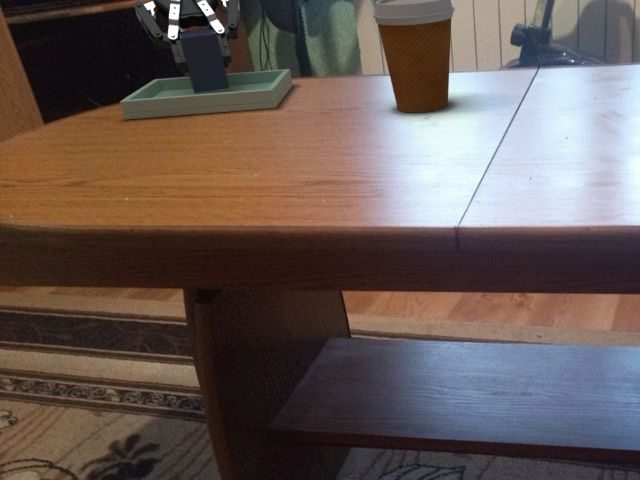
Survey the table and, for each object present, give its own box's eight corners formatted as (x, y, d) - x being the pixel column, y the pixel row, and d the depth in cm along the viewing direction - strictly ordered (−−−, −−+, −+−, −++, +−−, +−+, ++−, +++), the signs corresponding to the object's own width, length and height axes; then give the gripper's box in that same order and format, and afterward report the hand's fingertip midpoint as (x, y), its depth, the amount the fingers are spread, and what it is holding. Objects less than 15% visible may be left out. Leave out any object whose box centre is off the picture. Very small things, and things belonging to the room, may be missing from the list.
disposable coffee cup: (456, 114, 86) (448, 2, 79) (377, 117, 87) (362, 7, 81) (465, 95, 94) (458, -9, 87) (392, 98, 95) (380, -4, 89)
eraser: (193, 93, 102) (177, 32, 98) (226, 89, 103) (212, 27, 99) (197, 102, 97) (180, 37, 93) (231, 97, 99) (216, 33, 94)
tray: (125, 119, 95) (119, 101, 94) (158, 95, 107) (154, 79, 105) (275, 108, 95) (272, 89, 94) (293, 85, 106) (290, 68, 105)
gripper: (231, -25, 106) (261, 76, 102) (126, -14, 102) (154, 92, 98) (225, -67, 98) (258, 40, 95) (113, -57, 94) (143, 56, 91)
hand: (205, 66), depth 97 cm, fingers closed on eraser, 4 cm apart
